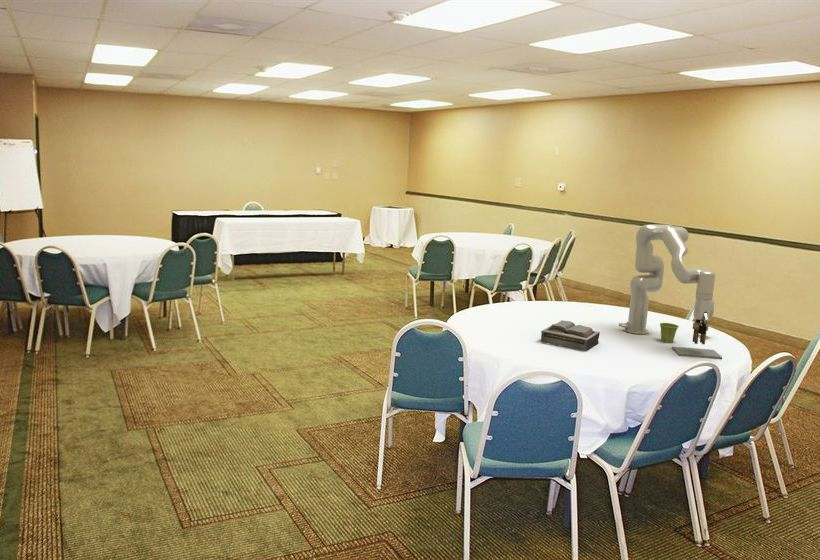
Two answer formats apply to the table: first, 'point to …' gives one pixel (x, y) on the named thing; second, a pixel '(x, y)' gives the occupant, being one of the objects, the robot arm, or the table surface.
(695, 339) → the stool
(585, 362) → the table surface
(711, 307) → the wineglass
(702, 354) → the mat
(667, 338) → the plant pot
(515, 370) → the table surface
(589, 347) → the bible
